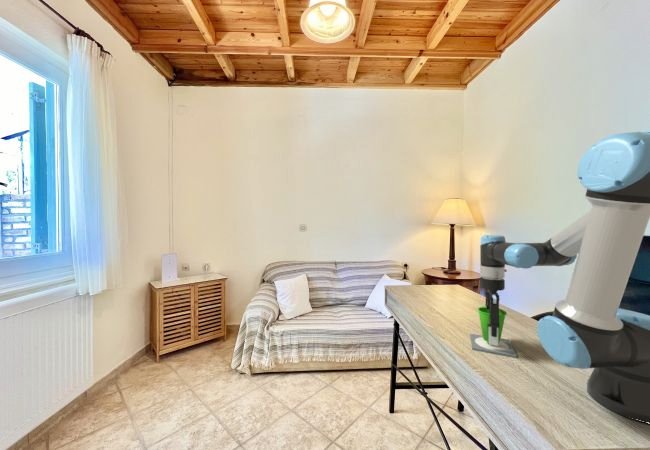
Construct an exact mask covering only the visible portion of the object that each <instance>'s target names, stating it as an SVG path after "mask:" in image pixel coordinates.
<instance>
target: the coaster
mask: <svg viewBox="0 0 650 450" xmlns="http://www.w3.org/2000/svg"><path fill="white" fill-rule="evenodd" d="M469 336H470V337H469V338H470V344H471V349H472V350H473V351H478V352H484V353H487V354H488V353H489V354H493V355H500V356H505V357H510V358H515V359H517V358H518V356H517V353H516V351H515V350H514V349H515V348H514V347H513V344H512V343H511V340H510V339H506V338H501V339H500V342H499V343H498V346H495V345H490V344H489V342H487V341H485V340H484V338H483V335H480V334H474V333H469Z"/></svg>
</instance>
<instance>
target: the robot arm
mask: <svg viewBox="0 0 650 450" xmlns="http://www.w3.org/2000/svg"><path fill="white" fill-rule="evenodd" d="M577 179H579V180H580V183H581V185H582V187H584V188H585V189H586V193H585V196H584V197H585V199H586V200H587V201H588V202H589V203H590V205H591V208H590V210H589V211H588V212H586V213H585V214H583V215H582V216H580V217H579V218H578V219H577V220H575V221H574V222H572V223H571V224H569V225H568V226H567V227H565V228H564V229H562V230H561V231H560V232H558V233H557V234H555V235H553V237H551V238H550V239H548V240H546V241H544V242H507V241H506V237H505V236H504V235H500V234H499V235H498V234H484V235H482V236H481V238H480V246H479V247H480V248H479V249H480V260H479V261H480V264H479V267H480V269H479V272H480V273H479V275H480V278H479V285H480V288H482V289H484V290H485V293H484V294H485V295H484V297H485V306H486V307H487V309H489V314H490V315H489V319H490V324H487V326H489V344H490V345H495V346H498V328H499V327H500V325H499V309H500V295H499V293H498V292H499V291H504V290H505V287H506V284H505V283H506V280H505V279H504V278H505V276H506V275H505V273H506V272H507V269H506V268H505V267H506V266H510V267H514V268H517V269H524V270H525V269H526V270H527V269H531V268H532V267H563V266H570V265H572V264H573V263H575V265H574V269H573V273H572V276H571V279H570V283H569V287H568V291H567V294H566V296H565V299H562V300H559V301H557V302H556V303H555V307H554V309H553V313H552V315H545V316H544V317H542V318H540V319H539V320H538V321H537V325H536V331H537V332H536V333H537V337H538V341H540V343H541V345H542V347H543V349H544V351H545V352H546V353H547V354H548V356H550V358H552V359H553V360H554V361H555V362H557V364H560V365H561V366H564V367H567V368H570V369H579V370H580V369H581V370H587V369H593V370H592V372H591V374H590V376H589V378H588V379H587V382H586V392H587V394H588V395H589V396H590V397H591V398H592V399H593V400H594V401H595V402H597V403H598V404H599V405H601V406H602V407H605V408H606V409H607V410H610V411H612V412H614V413H615V414H618V413H619V414H618V415H620V414H622V415H624V416H623V417H625V416H627V417H630V418H633V419H638V420H641V421H644V422H649V423H650V315H649V314H646V313H642V312H637V311H633V310H629V309H625V308H620V305H621V301H622V299H623V296H624V293H625V290H626V288H627V285H628V282H629V278H630V276H631V273H632V270H633V268H634V267H633V266H634V264H635V261H636V258H637V256H638V253H639V249H640V247H641V243H642V241H643V238H644V235H645V232H646V229H647V226H648V223H649V220H650V131H634V132H620V133H615V134H613V135H609V136H606V137H604V138H602V139H600V140H599V141H598V142H596V143H595V144H593V145H592V146H590V147H589V149H587V151H585V153H584V154H583V155H582V157H581V159H580V161H579V163H578V167H577ZM575 260H576V262H575ZM495 323H496V324H495ZM622 415H621V416H622ZM627 417H626V418H627ZM630 418H629V419H630ZM633 419H632V420H633Z"/></svg>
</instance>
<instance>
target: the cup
mask: <svg viewBox="0 0 650 450" xmlns="http://www.w3.org/2000/svg"><path fill="white" fill-rule="evenodd" d="M476 309H477V311H478V314H479V315H478V316H479V321H480V327H481V334H482V336H483V338H484V340H485V341H487V342H489V326H487V324H490V319H489V315H490V314H489V309H487V307H486V305H484V306H479V307H477V308H476ZM506 315H507V311H506V310H503V309H502V308H499V325H500V327H499V328H498V343H499V342H500V339H502V333H503V329H504V323H505V319H506ZM495 324H496V323H495Z"/></svg>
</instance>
